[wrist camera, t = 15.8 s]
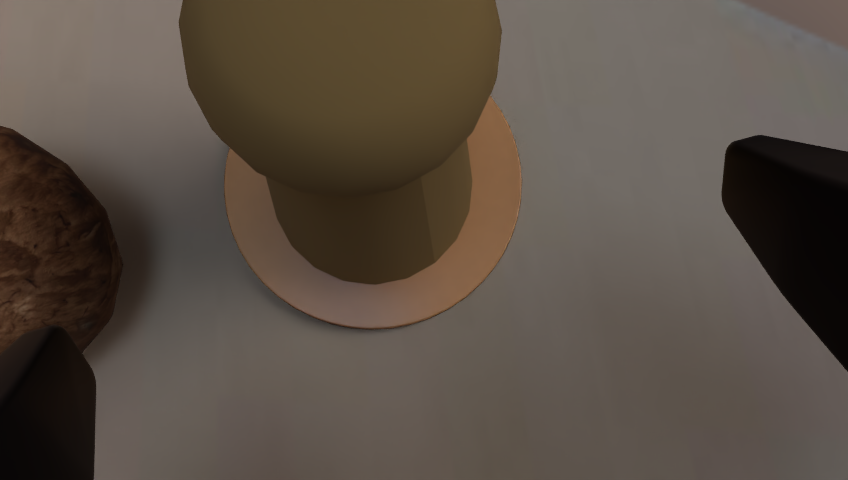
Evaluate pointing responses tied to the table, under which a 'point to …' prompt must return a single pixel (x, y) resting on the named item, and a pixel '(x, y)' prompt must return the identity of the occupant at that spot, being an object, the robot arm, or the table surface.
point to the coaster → (397, 299)
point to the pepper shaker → (350, 118)
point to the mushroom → (52, 247)
